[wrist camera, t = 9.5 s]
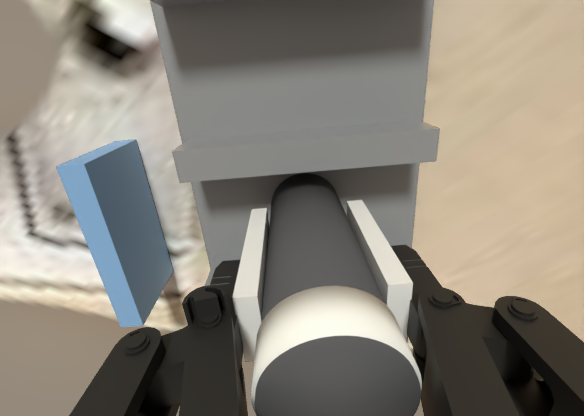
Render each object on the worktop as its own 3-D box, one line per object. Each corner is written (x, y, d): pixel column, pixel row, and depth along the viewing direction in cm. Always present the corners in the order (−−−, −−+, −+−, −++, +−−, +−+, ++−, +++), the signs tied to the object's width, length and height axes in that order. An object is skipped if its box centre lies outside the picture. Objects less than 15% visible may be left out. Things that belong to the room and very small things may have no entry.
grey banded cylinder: (339, 168, 18) (434, 332, 7) (340, 233, 19) (417, 448, 8) (265, 174, 18) (237, 347, 7) (273, 239, 19) (261, 461, 8)
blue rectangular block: (135, 139, 18) (84, 164, 13) (173, 270, 21) (143, 325, 17) (115, 141, 18) (56, 166, 13) (156, 272, 21) (121, 327, 17)
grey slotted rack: (451, -331, 11) (533, -527, 7) (404, 257, 21) (429, 297, 18) (93, -294, 11) (1, -469, 8) (216, 273, 21) (202, 315, 18)
